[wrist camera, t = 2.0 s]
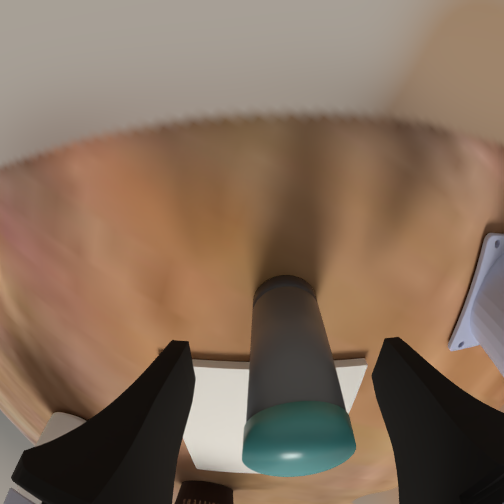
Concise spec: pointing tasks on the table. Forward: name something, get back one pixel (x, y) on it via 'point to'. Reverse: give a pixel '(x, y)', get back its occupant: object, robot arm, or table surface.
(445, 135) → the table surface
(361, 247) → the table surface
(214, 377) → the paper pad
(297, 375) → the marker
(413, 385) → the robot arm
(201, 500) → the coffee mug
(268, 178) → the table surface
